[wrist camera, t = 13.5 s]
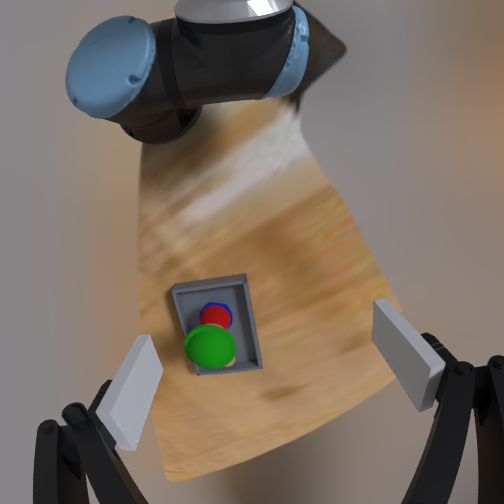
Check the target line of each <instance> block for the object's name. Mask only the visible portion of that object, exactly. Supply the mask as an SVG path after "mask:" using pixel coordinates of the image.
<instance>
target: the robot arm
mask: <svg viewBox="0 0 504 504" xmlns="http://www.w3.org/2000/svg"><path fill="white" fill-rule="evenodd" d="M174 11H175V16H176V18H171V19H167V20H163V21H158V22H154V23H150V24H148V23H147V22H146V21H144V20H142V19H139V18H135V17H133V16H118V17H114V18H111V19H108V20H106V21H104V22H102V23H100V24H99V25H97V26H96V27H94V28H93V29H92V30H91V31H89V32H88V33H87V34H86V35H85V37H84V38H83V39H82V40H81V41H80V43H79V46H78V47H77V48H76V50H75V51H74V52H73V54H72V56H71V58H70V60H69V63H68V67H67V71H66V81H65V83H66V90H67V94H68V97H69V99H70V101H71V102H72V103H73V105H74V106H75V107H77V108H78V109H79V110H81V111H83V112H85V113H87V114H88V115H89V116H91V117H95V118H99V119H101V118H102V119H105V120H109V121H112V122H116V123H119V124H120V125H121V127H122V129H123V130H124V131H125V132H126V133H127V134H128V135H129V136H131V137H132V138H134V139H136V140H138V141H141V142H144V143H149V144H163V143H167V142H170V141H173V140H175V139H177V138H179V137H181V136H182V135H184V134H185V133H186V132H187V131H188V130H189V129H190V128H191V127H192V126H193V125H194V124H195V122H196V121H197V119H198V117H199V115H200V113H201V110H202V107H203V105H205V104H213V103H221V102H230V101H240V100H252V99H255V100H260V99H265V98H267V97H276V96H284V95H287V94H289V93H291V92H293V91H294V90H295V89H296V88H297V86H298V85H299V83H300V81H301V79H302V77H303V74H304V71H305V68H306V63H307V58H308V50H309V46H308V44H307V40H308V37H309V30H308V23H307V19H306V16H305V14H304V12H303V11H302V10H301V9H300V8H298V7H295V6H293V0H179V1H178V3H177V4H176V5H175V9H174ZM372 340H373V342H374V343H375V345H376V346H377V348H378V349H379V351H380V352H381V354H382V355H383V357H384V358H385V360H386V362H387V363H388V365H389V366H390V368H391V369H392V371H393V372H394V374H395V375H396V377H397V378H398V380H399V382H400V383H401V385H402V386H403V388H404V389H405V391H406V393H407V394H408V396H409V397H410V399H411V401H412V402H413V404H414V405H415V407H416V409H417V410H418V412H421V411H424V410H426V409H428V408H431V407H432V406H433V403H434V400H435V399H436V400H437V402H438V403H439V405H438V408H437V410H436V413H435V415H434V421H433V425H432V428H431V431H430V434H429V437H428V440H427V443H426V446H425V449H424V451H423V454H422V457H421V460H420V462H419V465H418V467H417V470H416V472H415V474H414V477H413V479H412V481H411V484H410V486H409V488H408V490H407V492H406V495H405V497H404V499H403V501H402V503H401V504H447V503H448V500H449V497H450V494H451V492H452V489H453V486H454V482H455V479H456V476H457V473H458V469H459V466H460V462H461V458H462V454H463V450H464V446H465V441H466V437H467V432H468V427H469V421H470V415H471V409H472V408H473V409H474V416H475V425H476V434H477V446H478V447H477V448H478V472H479V474H478V475H479V476H478V477H479V478H478V481H479V482H478V504H504V356H501V355H496V356H493V357H491V358H490V359H489V361H488V364H487V366H481V367H474V366H473V365H472V364H470V363H468V362H464V361H461V362H458V361H457V359H456V358H455V357H454V356H453V355H452V354H451V353H450V352H449V351H448V350H447V349H446V348H445V347H444V346H443V345H442V344H441V343H440V342H439V341H438V340H437V338H436V337H435V336H433V335H431V334H429V333H423V334H421V335H420V334H419V333H418V332H417V331H416V330H415V329H414V328H413V327H412V326H411V324H410V323H409V322H408V321H407V320H406V319H405V318H404V317H403V316H402V315H401V314H400V313H399V312H398V311H397V310H396V309H395V308H394V307H393V306H392V305H391V304H390V303H389V302H388V301H387V300H386V298H383V299H379V300H374V301H373V329H372ZM163 371H164V370H163V368H162V365H161V363H160V360H159V358H158V355H157V352H156V350H155V347H154V345H153V342H152V339H151V336H150V334H149V335H139V336H138V337H137V339H136V341H135V342H134V344H133V345H132V347H131V349H130V351H129V353H128V354H127V356H126V358H125V359H124V361H123V363H122V365H121V366H120V368H119V370H118V372H117V373H116V375H115V377H114V379H113V380H107V381H106V382H105V383H104V384H103V385H102V386H101V388H100V390H99V392H98V394H97V395H96V397H95V399H94V400H93V402H92V404H91V406H90V407H89V409H88V411H87V409H86V408H85V406H84V405H83V404H82V403H77V402H75V403H72V404H70V405H68V406H66V407H65V408H64V409H63V411H62V418H63V419H64V420H65V422H66V423H67V426H59V425H58V423H57V422H56V421H55V420H52V419H51V420H46V421H44V422H43V423H41V424H40V425H39V427H38V431H37V438H36V448H35V458H34V474H33V504H90V503H89V497H88V490H87V482H86V474H87V476H88V479H89V481H90V484H91V486H92V488H93V490H94V492H95V495H96V497H97V499H98V501H99V503H100V504H148V502H147V501H146V499H145V498H144V496H143V495H142V493H141V492H140V490H139V489H138V487H137V485H136V484H135V482H134V481H133V479H132V478H131V476H130V474H129V472H128V471H127V469H126V467H125V466H124V464H123V462H122V461H121V459H120V457H119V455H118V453H117V451H116V450H115V449H114V448H115V445H116V443H117V444H118V445H119V447H120V448H121V449H122V450H130V451H135V450H136V447H137V444H138V441H139V438H140V435H141V433H142V430H143V426H144V424H145V421H146V418H147V415H148V412H149V409H150V407H151V404H152V401H153V398H154V395H155V393H156V390H157V387H158V384H159V381H160V379H161V376H162V373H163ZM85 472H86V473H85Z"/></svg>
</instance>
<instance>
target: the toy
mask: <svg viewBox="0 0 504 504" xmlns="http://www.w3.org/2000/svg"><path fill="white" fill-rule="evenodd" d="M199 319H200V323H201V326H198V327H195V328H194V329H192V330H191V331H190V332H189V333H188V335H187V336H186V339H185V343H184V348H185V352H186V354H187V356H188V357H189V359H190V360H191V361H192V362H194V363H195V364H197V365H199V366H201V367H203V368H206V369H216V368H221V367H224V366H226V365H228V364H229V363H230V362H231V361H232V360H233V359H234V357H235V354H236V343H235V340H234V338H233V336H232V335H231V334H230V333H229V332H228V331H227V329H228V328H229V327H230V326H231V324H232V321H233V316H232V312H231V311H230V309H229V307H228V306H227V305H226V304H221V303H214V302H209V303H207V304H206V305H205V306H204V307H203V308H202V309H201V311H200V315H199Z"/></svg>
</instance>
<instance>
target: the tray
mask: <svg viewBox="0 0 504 504" xmlns="http://www.w3.org/2000/svg"><path fill="white" fill-rule="evenodd" d="M171 292H172V295H173V299H174V302H175V306H176V309H177V313H178V316H179V320H180V323H181V326H182V330H183V333H184V336H185V339H186V336H187V335H188V333H189V332H190V331H191V330H192V329H194V328H195V327H198V326H201V323H200V319H199V315H200V311H201V309H202V308H203V307H204V306H205V305H206V304H207V303H209V302H214V303H221V304H226V305H227V306H228V307H229V309H230V311H231V312H232V316H233V321H232V324H231V326H230V327H229V328H228V329H227V331H228V332H229V333H230V334H231V335H232V336H233V338H234V340H235V343H236V354H235V362H234V364H233V365H232V366H230V367H221V368H216V369H206V368H203V367H201V366H199V365H197V364H195V363H194V362H193V364H194V367H195V370H196V373H197V375H210V374H221V373H230V372H239V371H248V370H255V369H262V358H261V353H260V347H259V342H258V336H257V331H256V325H255V320H254V314H253V308H252V303H251V297H250V292H249V286H248V280H247V275H246V273H245V274H238V275H232V276H225V277H219V278H212V279H205V280H198V281H191V282H184V283H177V284H175V285H174V287H173V288H172V290H171Z"/></svg>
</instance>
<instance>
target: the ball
mask: <svg viewBox="0 0 504 504" xmlns="http://www.w3.org/2000/svg"><path fill="white" fill-rule="evenodd" d="M234 362H235V357H234V359H233V360H232V361H231V362H230V363H229V364H228V365H226V366H224V367H230V366H232V365H233V364H234Z"/></svg>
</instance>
